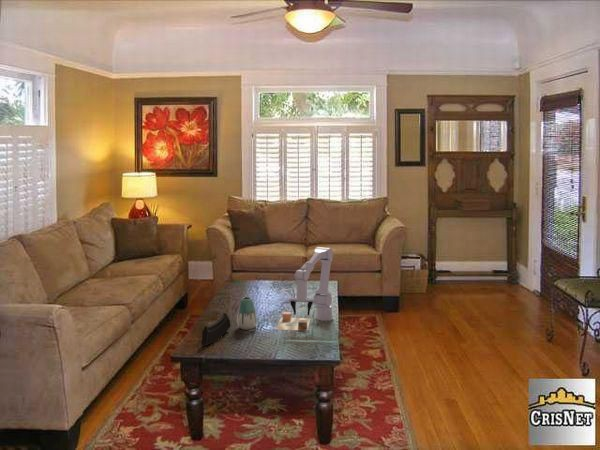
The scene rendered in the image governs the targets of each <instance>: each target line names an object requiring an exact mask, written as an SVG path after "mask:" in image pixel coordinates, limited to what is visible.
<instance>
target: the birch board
mask: <svg viewBox="0 0 600 450" xmlns="http://www.w3.org/2000/svg"><path fill="white" fill-rule="evenodd" d="M299 320H307V329H298V322H299ZM311 320H312V318H310V317H302V318H301V317H291V320H290V321H283V316H282V317H280V319H279V321H278V324H277V326H276V328H275V331H276V330H280V331H308V330H309V326H310V322H311Z"/></svg>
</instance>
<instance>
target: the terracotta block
mask: <svg viewBox="0 0 600 450" xmlns="http://www.w3.org/2000/svg"><path fill="white" fill-rule="evenodd" d="M282 318H283V321H290V320H291V318H292V312H291V311H282Z"/></svg>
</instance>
